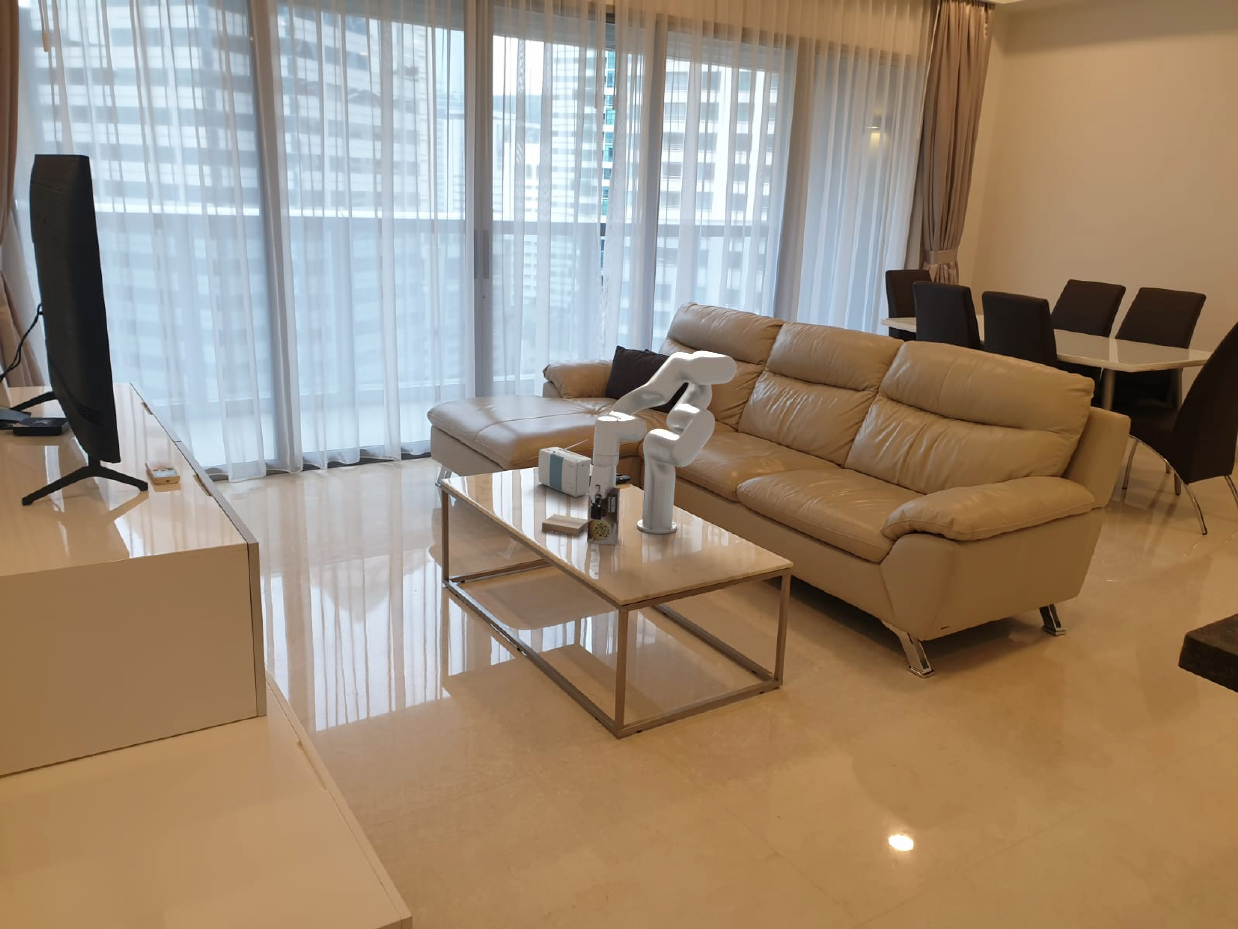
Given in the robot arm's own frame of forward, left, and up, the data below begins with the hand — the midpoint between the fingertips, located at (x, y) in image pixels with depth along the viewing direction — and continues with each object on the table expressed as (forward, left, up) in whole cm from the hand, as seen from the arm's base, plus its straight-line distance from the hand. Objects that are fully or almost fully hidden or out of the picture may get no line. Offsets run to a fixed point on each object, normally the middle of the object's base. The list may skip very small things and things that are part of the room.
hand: (601, 514), depth 269 cm
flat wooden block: (-5, -14, -8) cm, 17 cm away
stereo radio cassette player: (-43, -31, -9) cm, 53 cm away
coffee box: (-1, 0, -9) cm, 9 cm away
